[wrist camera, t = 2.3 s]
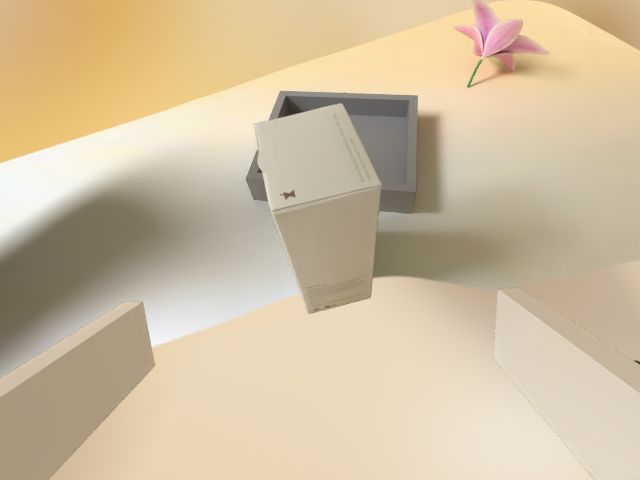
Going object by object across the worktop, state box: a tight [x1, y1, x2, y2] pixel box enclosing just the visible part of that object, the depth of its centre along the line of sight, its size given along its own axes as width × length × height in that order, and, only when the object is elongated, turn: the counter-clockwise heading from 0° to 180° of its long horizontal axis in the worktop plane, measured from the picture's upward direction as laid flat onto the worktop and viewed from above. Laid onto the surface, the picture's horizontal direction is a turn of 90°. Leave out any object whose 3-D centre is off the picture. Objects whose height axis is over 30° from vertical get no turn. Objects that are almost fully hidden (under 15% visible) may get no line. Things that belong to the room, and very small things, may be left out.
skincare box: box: [254, 103, 382, 314], centre depth 25 cm, size 8×7×16 cm
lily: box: [453, 0, 549, 87], centre depth 44 cm, size 12×12×10 cm
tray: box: [246, 91, 418, 213], centre depth 39 cm, size 18×16×4 cm
